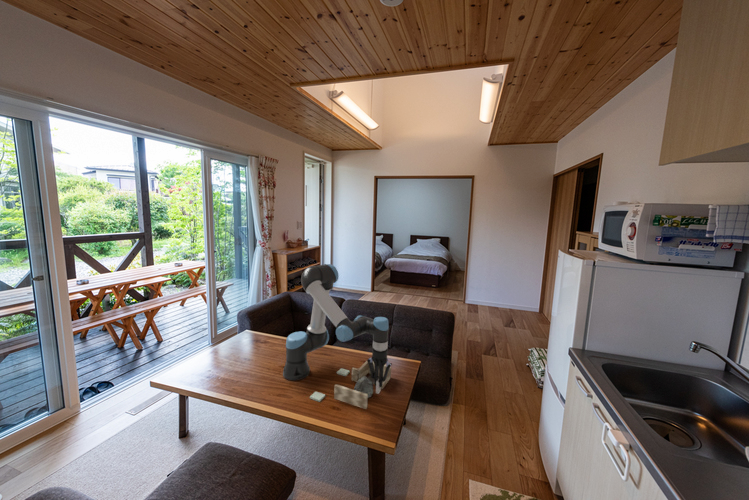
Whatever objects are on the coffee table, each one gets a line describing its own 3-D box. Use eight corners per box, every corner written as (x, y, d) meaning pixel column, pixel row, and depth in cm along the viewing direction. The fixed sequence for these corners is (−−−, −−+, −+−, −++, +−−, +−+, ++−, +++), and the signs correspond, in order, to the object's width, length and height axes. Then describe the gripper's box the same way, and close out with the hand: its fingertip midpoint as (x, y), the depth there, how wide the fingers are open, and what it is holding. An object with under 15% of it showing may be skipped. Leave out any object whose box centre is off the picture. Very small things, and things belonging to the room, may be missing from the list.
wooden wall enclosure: (334, 398, 145) (334, 385, 145) (361, 369, 174) (362, 358, 173) (367, 409, 138) (368, 396, 137) (390, 377, 166) (391, 366, 166)
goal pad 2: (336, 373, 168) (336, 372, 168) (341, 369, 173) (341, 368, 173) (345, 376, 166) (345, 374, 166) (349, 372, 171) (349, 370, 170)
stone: (363, 382, 143) (367, 371, 153) (348, 391, 146) (353, 380, 155) (375, 397, 143) (378, 385, 153) (360, 406, 146) (364, 394, 155)
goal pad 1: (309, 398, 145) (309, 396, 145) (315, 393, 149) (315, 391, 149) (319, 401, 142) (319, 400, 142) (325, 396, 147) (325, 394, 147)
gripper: (365, 348, 143) (363, 392, 145) (389, 354, 137) (387, 399, 140) (371, 342, 149) (369, 384, 152) (394, 348, 144) (392, 391, 147)
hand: (378, 392), depth 146 cm, fingers closed
